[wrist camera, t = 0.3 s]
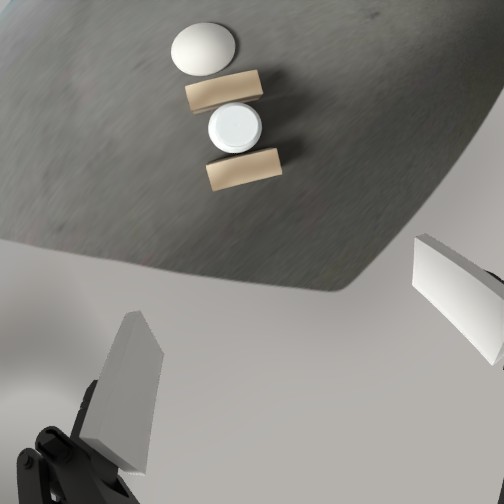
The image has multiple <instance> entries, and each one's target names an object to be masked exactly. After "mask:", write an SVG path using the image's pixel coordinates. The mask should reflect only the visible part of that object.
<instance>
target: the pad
mask: <svg viewBox="0 0 504 504" xmlns="http://www.w3.org/2000/svg"><path fill="white" fill-rule="evenodd" d="M234 53H235V41H234V38H233V36H232V35H231V33H230V32H229V31H228V30H227V29H225V28H224V27H222V26H220V25H217V24H214V23H199V24H195V25H192V26H189V27H187V28H186V29H184V30H183V31H182V32H180V33H179V34H178V36H177V37H176V38H175V40H174V42H173V44H172V49H171V55H172V59H173V61H174V63H175V64H176V66H177V67H178V68H179V69H180V70H181V71H183V72H185V73H187V74H189V75H193V76H208V75H212V74H215V73H217V72H219V71H221V70H222V69H224V68H225V67H226V66H227V65H228V64H229V63H230V62H231V60H232V58H233V56H234Z"/></svg>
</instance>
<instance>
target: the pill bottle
mask: <svg viewBox="0 0 504 504" xmlns="http://www.w3.org/2000/svg"><path fill="white" fill-rule="evenodd" d="M208 130H209V135H210V138H211V140H212V142H213V143H214V144H215V145H216V146H217V147H218V148H219V149H221V150H223V151H225V152H228V153H240V152H244V151H246V150H248V149H250V148H251V147H253V146H254V145H255V144H256V143H257V141H258V139H259V138H260V135H261V131H262V124H261V120H260V117H259V115H258V114H257V112H256V111H255V110H254V109H253V108H252V107H250V106H248V105H246V104H244V103H238V102H233V103H228V104H225V105H223V106H221V107H219V108H218V109H217V110H216V111H215V112H214V113H213V115H212V116H211V118H210V121H209V127H208Z"/></svg>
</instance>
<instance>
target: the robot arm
mask: <svg viewBox="0 0 504 504" xmlns="http://www.w3.org/2000/svg"><path fill="white" fill-rule="evenodd" d="M412 285H413V286H414V287H415V288H416V289H417V290H418V291H419V292H420V293H421V294H423V295H424V296H425V297H426V298H427V299H428V300H429V301H430V302H431V303H432V304H433V305H434V306H435V307H436V308H437V309H438V310H439V311H440V312H441V313H443V315H444V316H445V317H447V318H448V319H449V320H450V321H451V322H452V323H453V324H454V325H455V326H456V327H457V329H459V331H460V332H461V333H462V334H463V335H464V336H465V337H466V338H467V339H468V340H469V341H470V342H471V343H472V344H473V345H474V346H475V347H476V348H477V350H478V351H480V353H481V354H482V355H483V356H484V357H485V358H486V359H487V361H488V362H489V363H490V364H491V365H492V366H493V365H494V364H495V363H497V362H498V361H499V360H500V359H501V358H502V357H503V356H504V281H503V280H501V279H500V278H499V277H498V276H496V275H495V274H493V273H491V272H488V271H486V270H482V269H481V268H480V267H478V266H477V265H476V264H474V263H473V262H471V261H469V260H468V259H466V258H465V257H463V256H462V255H460V254H459V253H457V252H456V251H454V250H452V249H451V248H449V247H448V246H446V245H444V244H443V243H441V242H440V241H438V240H436V239H435V238H433V237H431V236H429V235H428V234H423V235H420V236H416V237H415V246H414V268H413V282H412ZM163 357H164V353H163V351H162V349H161V348H160V346H159V344H158V343H157V341H156V339H155V337H154V335H153V333H152V332H151V330H150V328H149V326H148V324H147V322H146V320H145V319H144V317H143V315H142V313H141V311H140V310H139V311H134V312H130V313H126V315H125V317H124V319H123V321H122V324H121V326H120V328H119V330H118V333H117V335H116V337H115V340H114V342H113V344H112V347H111V349H110V352H109V354H108V356H107V359H106V361H105V364H104V367H103V369H102V372H101V374H100V377H99V379H98V380H94V381H93V382H92V383H91V385H90V386H89V387H88V388H87V390H86V392H85V395H84V398H83V402H82V403H81V406H80V410H79V411H78V414H77V417H76V420H75V423H74V426H73V429H72V432H71V436H70V438H69V437H68V436H67V435H65V434H64V433H63V432H62V431H61V430H60V429H59V428H57V427H55V426H49V427H46V428H44V429H43V430H42V431H41V432H40V433H39V435H38V436H37V438H36V442H35V449H36V450H37V451H38V452H39V453H41V454H42V455H40V454H39V453H38V452H36V451H35V450H34V449H32V448H26V449H24V450H22V451H21V452H20V454H19V456H18V458H17V484H18V497H19V504H140V503H139V502H138V500H137V499H136V498H135V496H134V495H133V494H132V492H131V491H130V489H129V488H128V486H127V485H126V484H125V482H124V480H123V479H122V478H121V477H120V476H119V475H118V468H120V469H122V470H123V471H124V472H126V473H127V474H138V475H145V474H146V465H147V456H148V449H149V441H150V434H151V426H152V419H153V413H154V407H155V401H156V395H157V388H158V384H159V378H160V372H161V367H162V362H163ZM503 370H504V368H503ZM51 493H52V494H53V495H55V496H56V501H54V500H52V498H51ZM498 504H504V480H503V484H502V488H501V493H500V496H499V500H498Z"/></svg>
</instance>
